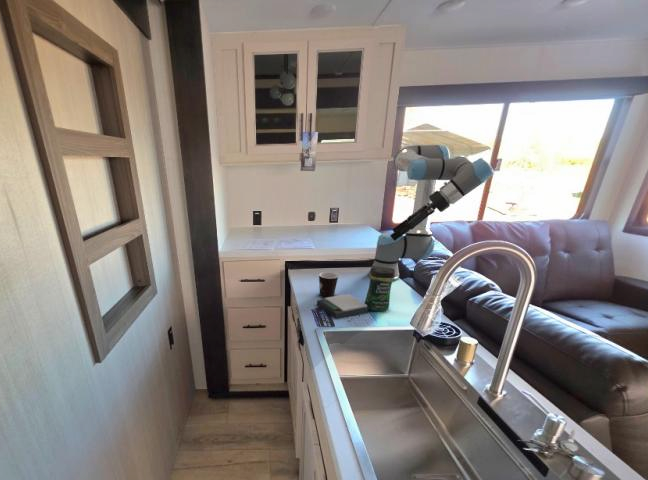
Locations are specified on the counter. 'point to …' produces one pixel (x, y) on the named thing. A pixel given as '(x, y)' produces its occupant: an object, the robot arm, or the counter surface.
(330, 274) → the coffee mug
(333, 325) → the counter surface
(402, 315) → the counter surface
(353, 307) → the kitchen scale
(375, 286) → the coffee jar
